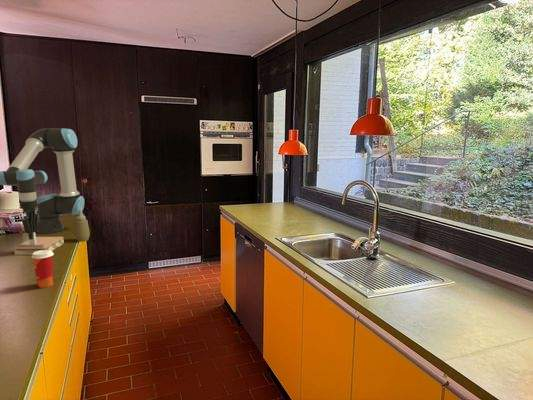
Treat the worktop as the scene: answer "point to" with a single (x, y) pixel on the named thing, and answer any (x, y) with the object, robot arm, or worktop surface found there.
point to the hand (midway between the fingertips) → (33, 244)
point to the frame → (31, 251)
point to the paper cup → (43, 268)
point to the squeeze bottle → (81, 228)
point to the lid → (39, 243)
